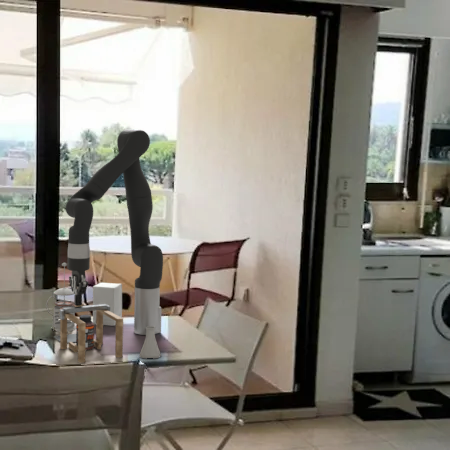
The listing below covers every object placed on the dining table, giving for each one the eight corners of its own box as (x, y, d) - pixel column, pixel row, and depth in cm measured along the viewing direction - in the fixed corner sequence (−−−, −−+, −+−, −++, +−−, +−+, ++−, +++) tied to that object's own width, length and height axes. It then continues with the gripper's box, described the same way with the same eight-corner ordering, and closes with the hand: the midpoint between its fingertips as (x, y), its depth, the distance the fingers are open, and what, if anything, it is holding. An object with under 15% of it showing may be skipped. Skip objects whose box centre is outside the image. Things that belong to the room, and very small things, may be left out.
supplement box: (122, 320, 302) (123, 283, 301) (114, 326, 294) (114, 287, 292) (101, 319, 304) (101, 281, 303) (92, 324, 296) (92, 286, 294)
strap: (107, 313, 267) (107, 303, 267) (110, 314, 265) (110, 304, 265) (59, 318, 259) (59, 308, 258) (61, 320, 257) (62, 309, 256)
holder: (100, 342, 270) (101, 306, 269) (122, 357, 255) (123, 318, 253) (60, 348, 263) (60, 310, 261) (79, 362, 247) (80, 323, 245)
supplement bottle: (89, 351, 260) (90, 318, 258) (73, 350, 261) (73, 317, 260) (96, 346, 266) (96, 314, 264) (80, 345, 267) (80, 313, 265)
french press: (74, 332, 284) (74, 265, 281) (43, 331, 284) (43, 264, 281) (79, 325, 294) (80, 260, 291) (49, 324, 294) (49, 259, 291)
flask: (139, 353, 260) (139, 324, 258) (160, 353, 260) (161, 324, 259) (138, 359, 253) (139, 329, 251) (161, 359, 253) (161, 330, 252)
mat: (80, 334, 281) (80, 333, 281) (90, 340, 273) (90, 339, 273) (53, 337, 276) (53, 336, 276) (62, 344, 268) (62, 343, 268)
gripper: (96, 258, 261) (95, 308, 263) (82, 252, 273) (81, 300, 275) (75, 259, 258) (74, 310, 260) (61, 253, 269) (61, 302, 271)
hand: (78, 305), depth 267 cm, fingers closed
